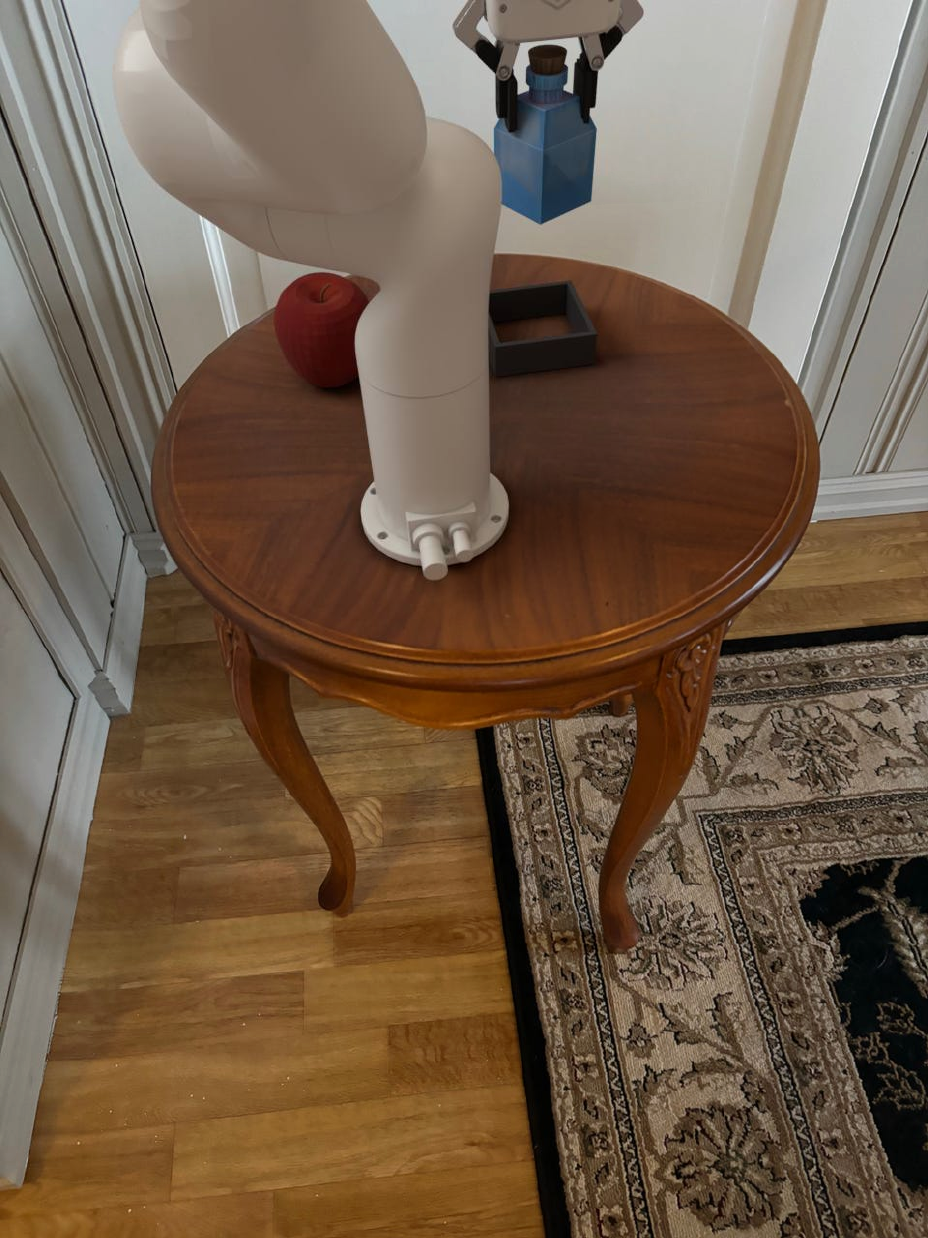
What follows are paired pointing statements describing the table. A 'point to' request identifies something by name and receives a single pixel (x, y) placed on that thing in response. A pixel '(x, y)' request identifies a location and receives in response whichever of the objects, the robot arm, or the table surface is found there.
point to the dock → (547, 349)
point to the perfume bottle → (546, 143)
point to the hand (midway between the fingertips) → (545, 119)
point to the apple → (320, 327)
